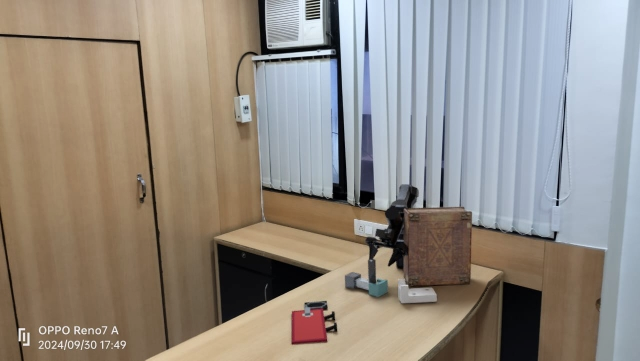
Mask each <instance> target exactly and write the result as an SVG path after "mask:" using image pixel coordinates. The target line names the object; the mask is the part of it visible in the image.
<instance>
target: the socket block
mask: <svg viewBox="0 0 640 361" xmlns="http://www.w3.org/2000/svg"><path fill="white" fill-rule="evenodd" d="M376 282H380V283H378V284H373V283H369V290H368V295H369V296H373V297H376V298H380V297H382V296H383V295H385V294H387V293H388V292H389V291H388V290H389V288H388V285H389V284H388V279H386V278H385V279H382V278H376Z"/></svg>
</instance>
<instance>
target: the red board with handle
mask: <svg viewBox="0 0 640 361" xmlns="http://www.w3.org/2000/svg"><path fill="white" fill-rule="evenodd" d="M328 308H329V306H328V301H327V300H321V301H319V300H318V301H309V302H308V301H307V302H306V301H305V302H304V309H301V310H292V311H291V345H299V344H314V343H327V342H328V334H327V333H328V332H330V331H333V330H334V333H338V323H337V322H333V325H330V326H327V327H326V322H325V321H327V320H330V319H332V321H336V312H335V311H333V310H332V311H331V314H327V315H325V314H324V309H328Z"/></svg>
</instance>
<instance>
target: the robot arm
mask: <svg viewBox="0 0 640 361" xmlns="http://www.w3.org/2000/svg"><path fill="white" fill-rule="evenodd" d="M397 194H398V195H397V196H396V199H395V200H394V201H392V202H391V203H390V206H389V207H388V208H387V209H386V210H385V212H384V217H385V220H386V221H387V224H388V225H387V228H384V229H382V228H381V229H380V228H376V230H375V234H374V237H373V236H367V237H366V238H365V240H364V242H365V243H366V245H367V246H368V248H369V253H368V260H369V259H375V257H376V255H377V253H378V252H379V250H378V249H380V247H381V248H387V249H391V250H392V254H391V256H390V258H389V261H388V263H387V267H388V268H389V267H391V266H392V265H394V264H395V266H396V267H397V269H399V270H401V269H402V270H404V257H405V255H406V256H408V247H407V245H406V244H405V243H404V209H405V208H414V206H415V204H416V203H417V202H418V198H419V196H420V192H419V189H418V187H415V186H414V185H412V184H407V183H406V184H400V185H399V189H398V193H397ZM376 237H377V238H378V239H377V238H376ZM379 240H380V241H379Z"/></svg>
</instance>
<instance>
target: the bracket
mask: <svg viewBox="0 0 640 361" xmlns="http://www.w3.org/2000/svg"><path fill="white" fill-rule="evenodd" d="M397 296H398V297H397V298H398V300H399V302H400V303H401V304H411V303H412V304H414V303H415V304H416V303H432V302H433V303H434V302H438V298H437V297H438V295H437V293H436V292H435V290H434V288H433V287H419V288H418V287H416V288H409V286H408V284H406V281H405V279H404V278H397Z"/></svg>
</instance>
